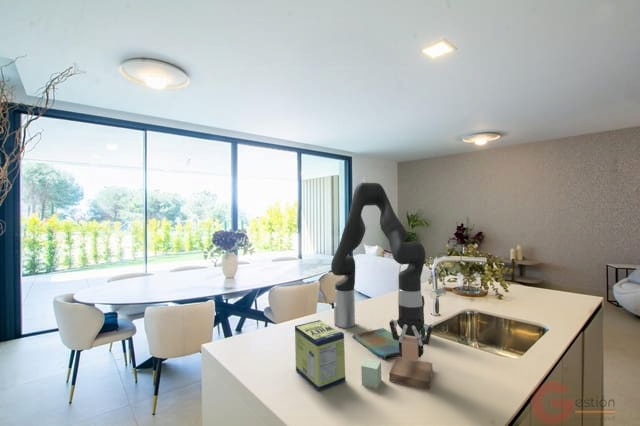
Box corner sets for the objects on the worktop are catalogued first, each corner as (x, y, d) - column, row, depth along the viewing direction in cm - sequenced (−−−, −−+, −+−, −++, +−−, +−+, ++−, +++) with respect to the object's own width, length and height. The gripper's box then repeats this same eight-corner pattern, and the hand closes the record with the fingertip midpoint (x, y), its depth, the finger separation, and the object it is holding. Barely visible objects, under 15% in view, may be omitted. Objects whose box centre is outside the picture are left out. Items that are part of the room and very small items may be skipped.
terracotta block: (402, 359, 97) (401, 340, 97) (404, 352, 101) (404, 334, 101) (418, 362, 94) (417, 343, 94) (420, 355, 99) (419, 337, 99)
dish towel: (384, 362, 108) (383, 355, 108) (351, 338, 129) (350, 332, 129) (420, 352, 115) (420, 346, 115) (383, 331, 136) (383, 325, 136)
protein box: (320, 361, 108) (319, 319, 108) (346, 381, 95) (345, 333, 95) (294, 370, 103) (293, 325, 103) (318, 392, 90) (317, 341, 90)
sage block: (361, 384, 93) (361, 365, 93) (366, 376, 98) (365, 358, 98) (377, 388, 91) (377, 369, 91) (381, 380, 96) (380, 361, 96)
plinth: (389, 380, 95) (389, 373, 95) (396, 363, 106) (396, 356, 106) (429, 389, 90) (428, 381, 90) (432, 370, 101) (432, 363, 101)
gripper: (385, 303, 98) (386, 355, 98) (432, 308, 91) (433, 363, 91) (390, 297, 104) (391, 346, 104) (434, 301, 98) (435, 353, 98)
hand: (411, 354), depth 98 cm, fingers closed on terracotta block, 5 cm apart
